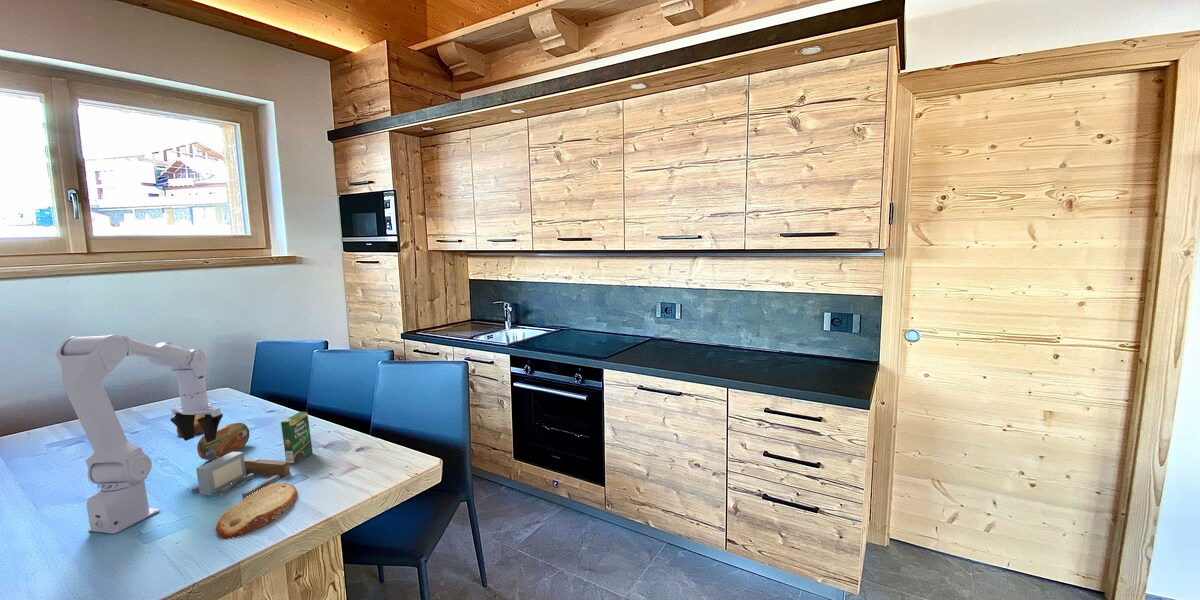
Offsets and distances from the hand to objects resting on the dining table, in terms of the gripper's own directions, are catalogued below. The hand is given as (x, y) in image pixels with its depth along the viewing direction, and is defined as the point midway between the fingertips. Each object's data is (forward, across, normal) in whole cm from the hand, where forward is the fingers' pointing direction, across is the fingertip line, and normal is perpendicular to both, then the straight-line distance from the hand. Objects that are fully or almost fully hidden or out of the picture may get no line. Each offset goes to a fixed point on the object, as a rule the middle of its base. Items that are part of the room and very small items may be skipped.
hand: (200, 439), depth 136 cm
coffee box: (+10, -20, -12) cm, 25 cm away
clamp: (+10, -16, +3) cm, 19 cm away
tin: (+10, +7, -12) cm, 17 cm away
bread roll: (+10, +36, -27) cm, 46 cm away
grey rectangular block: (+10, -12, +5) cm, 16 cm away
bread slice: (+10, -34, +14) cm, 38 cm away
